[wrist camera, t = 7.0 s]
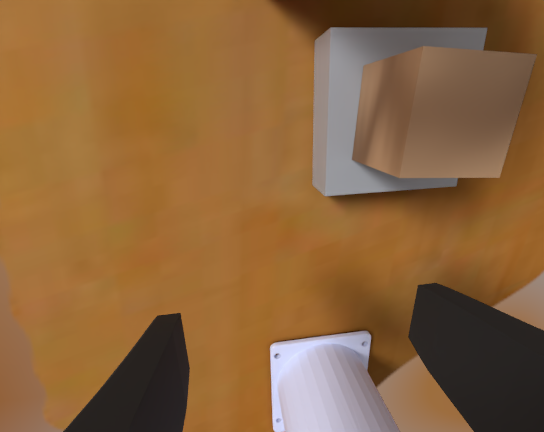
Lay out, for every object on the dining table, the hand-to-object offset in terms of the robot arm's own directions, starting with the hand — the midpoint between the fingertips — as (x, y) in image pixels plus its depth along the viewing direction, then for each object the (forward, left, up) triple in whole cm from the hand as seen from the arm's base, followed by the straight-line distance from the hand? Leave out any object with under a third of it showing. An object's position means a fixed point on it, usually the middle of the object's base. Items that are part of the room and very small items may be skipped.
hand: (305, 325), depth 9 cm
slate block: (+6, -7, -11) cm, 14 cm away
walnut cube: (+6, -7, -8) cm, 12 cm away
